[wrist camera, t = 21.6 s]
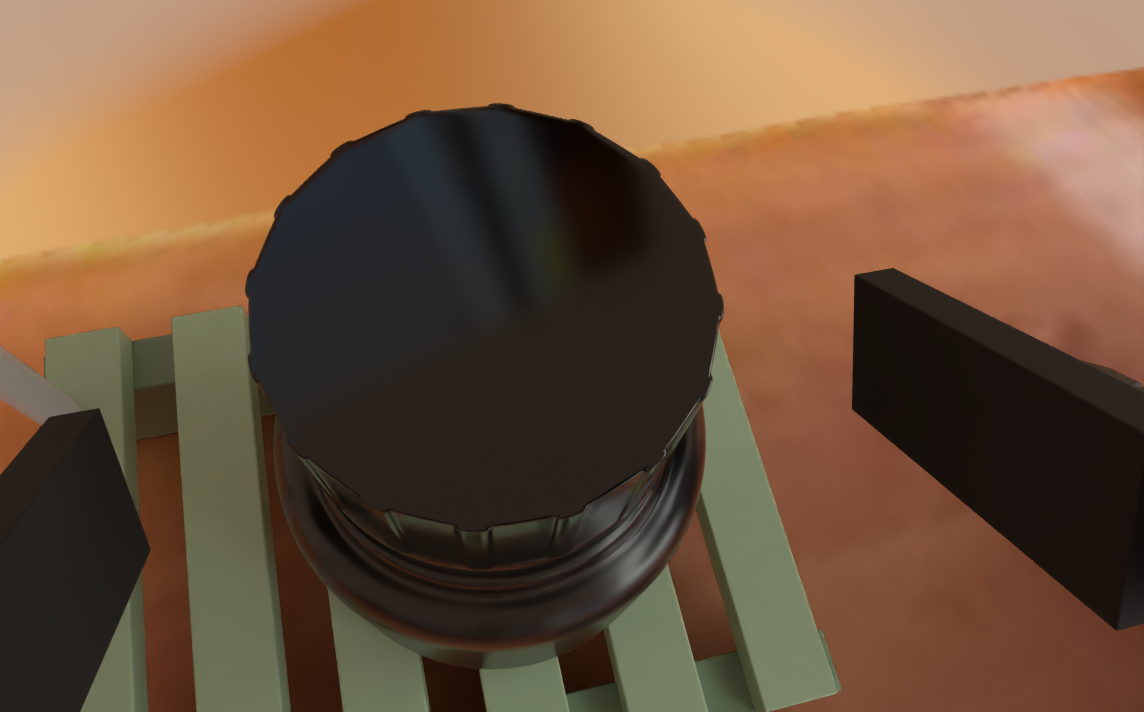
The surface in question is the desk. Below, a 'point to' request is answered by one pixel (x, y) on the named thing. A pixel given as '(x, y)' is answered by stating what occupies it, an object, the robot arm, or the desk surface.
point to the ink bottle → (486, 379)
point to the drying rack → (364, 654)
